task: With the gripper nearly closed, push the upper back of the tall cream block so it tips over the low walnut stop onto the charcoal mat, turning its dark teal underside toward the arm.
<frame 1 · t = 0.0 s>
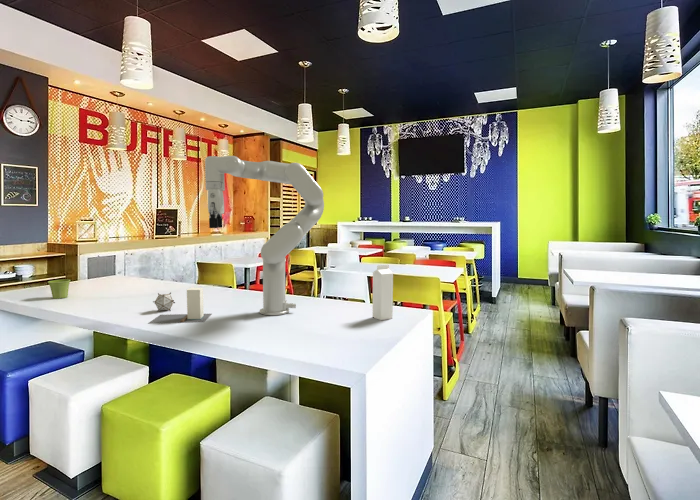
hand: (216, 227, 167), 37 cm above the table, tool pointing down, fingers open, 9 cm apart
plant pot: (60, 298, 201), on the table
milk: (382, 318, 164), on the table
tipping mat: (181, 319, 161), on the table
cream block: (195, 317, 161), resting on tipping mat
game die: (164, 311, 174), on the table
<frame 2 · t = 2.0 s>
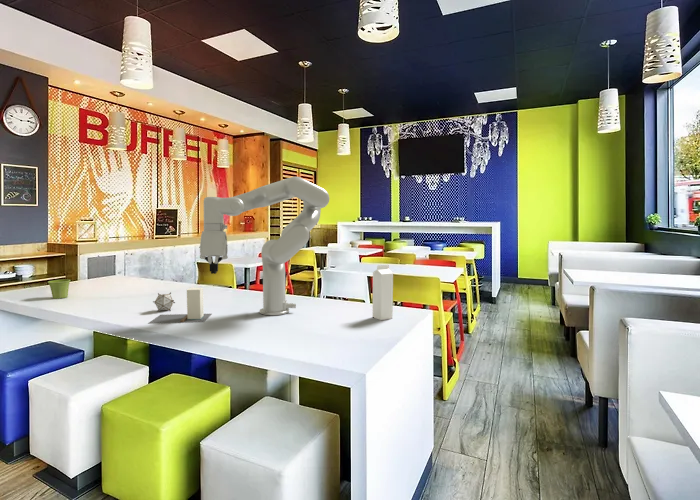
hand: (213, 273, 160), 19 cm above the table, tool pointing down, fingers closed
nothing on the table moved.
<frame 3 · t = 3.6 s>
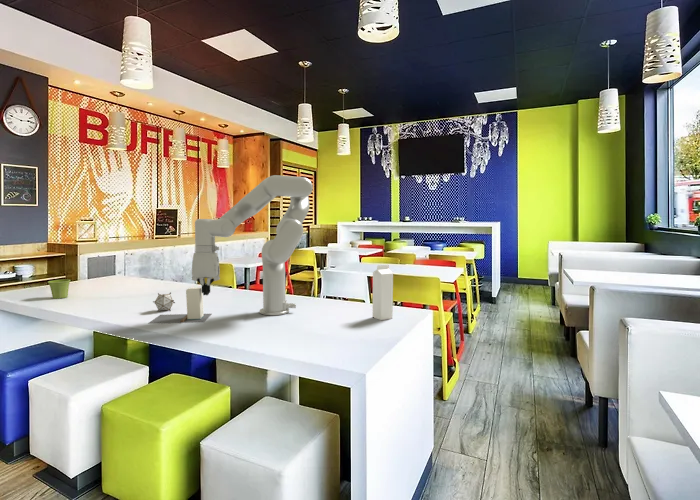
hand: (206, 294, 161), 10 cm above the table, tool pointing down, fingers closed
cream block: (195, 317, 161), resting on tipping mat, touching gripper
everything else where it was.
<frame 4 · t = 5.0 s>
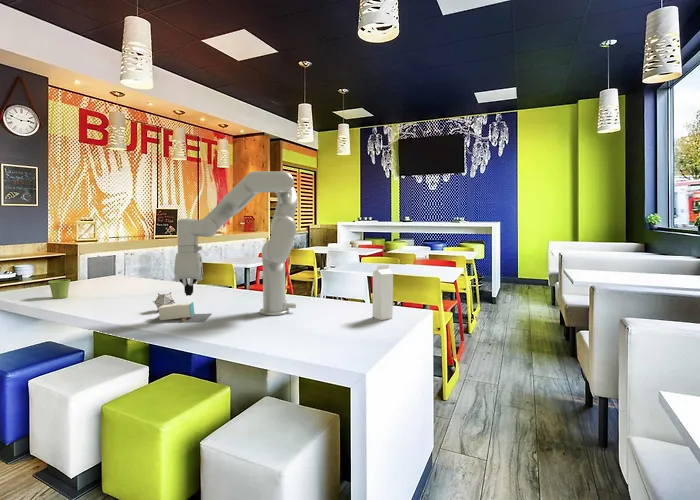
hand: (189, 294, 160), 10 cm above the table, tool pointing down, fingers closed
cream block: (192, 309, 161), point 4 cm above the table, tilted 95°, touching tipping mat
everything else where it was.
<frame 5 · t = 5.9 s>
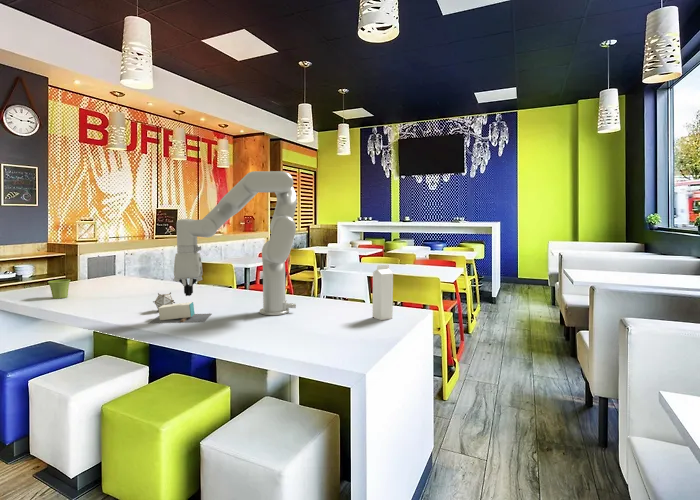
hand: (188, 295, 160), 10 cm above the table, tool pointing down, fingers closed
nothing on the table moved.
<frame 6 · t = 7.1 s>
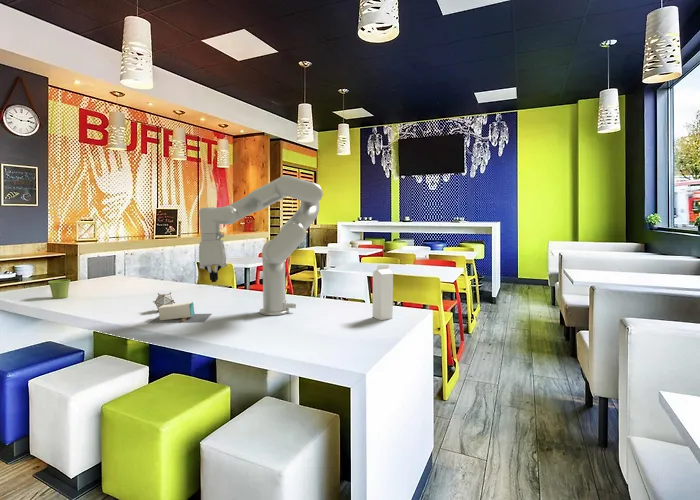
hand: (214, 281, 164), 15 cm above the table, tool pointing down, fingers closed
nothing on the table moved.
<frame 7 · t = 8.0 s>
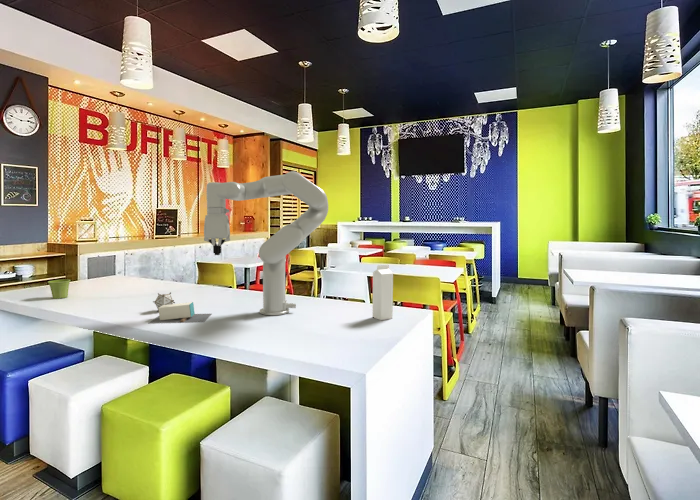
hand: (217, 254, 170), 25 cm above the table, tool pointing down, fingers closed
nothing on the table moved.
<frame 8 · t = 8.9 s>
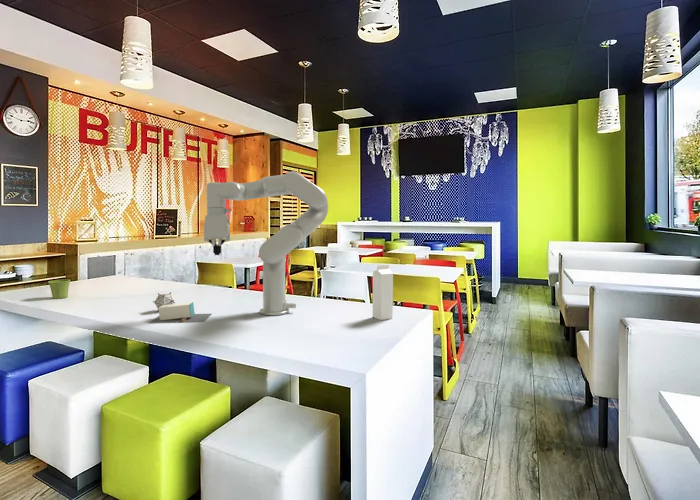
hand: (217, 254, 170), 25 cm above the table, tool pointing down, fingers closed
nothing on the table moved.
at the end: cream block tilted 95°; cream block inside the target area (2.8 cm from its centre), point 3.9 cm above the table; cream block touching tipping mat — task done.
